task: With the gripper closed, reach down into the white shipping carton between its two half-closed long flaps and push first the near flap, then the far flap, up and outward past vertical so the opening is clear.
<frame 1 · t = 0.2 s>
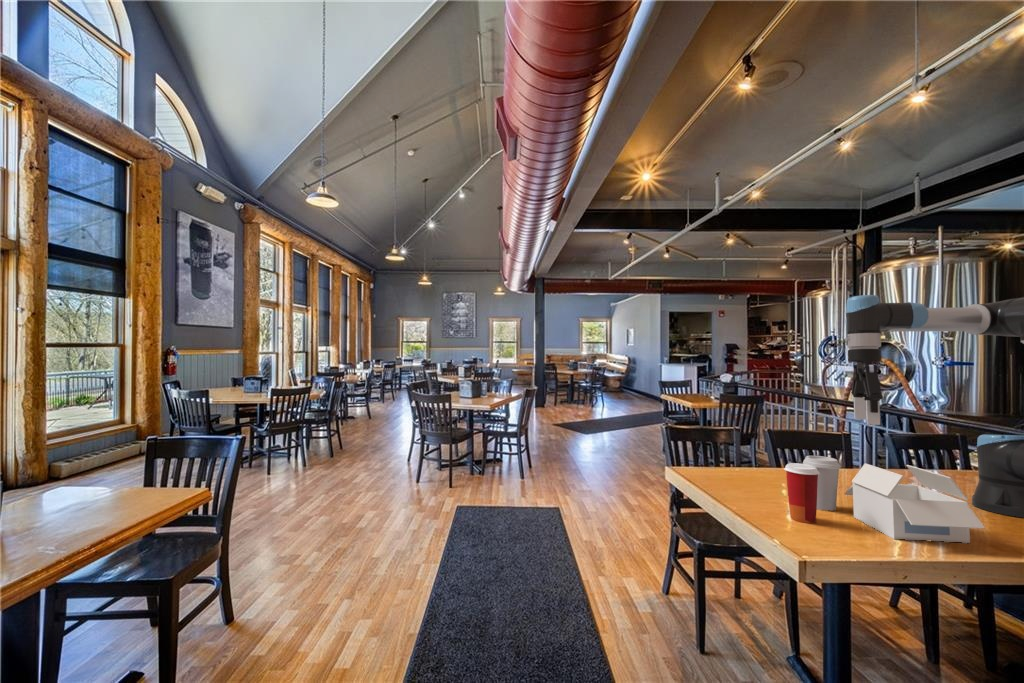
hand: (866, 421, 122), 28 cm above the table, tool pointing down, fingers open, 13 cm apart
carton: (891, 511, 128), on the table
white carton: (907, 529, 113), on the table
coffee cup: (802, 520, 120), on the table
near flap: (935, 481, 112), point 13 cm above the table, hinge at 55.0°
coffee cup 2: (822, 508, 130), on the table
far flap: (876, 479, 114), point 13 cm above the table, hinge at 55.0°
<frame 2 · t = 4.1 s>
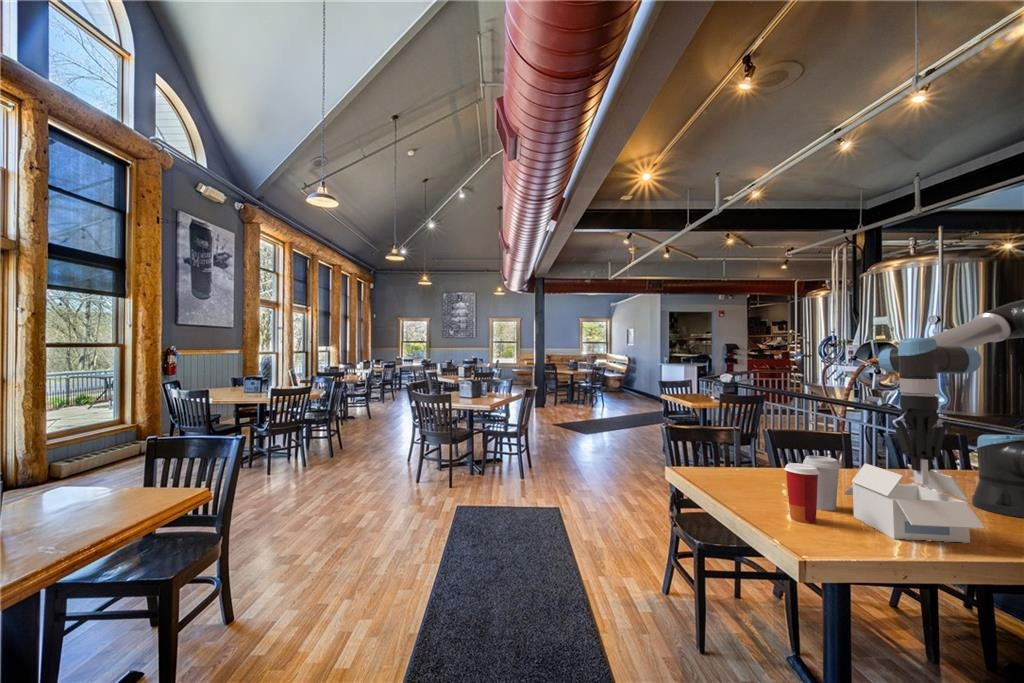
hand: (921, 483, 113), 12 cm above the table, tool pointing down, fingers closed
near flap: (935, 481, 112), point 13 cm above the table, hinge at 57.9°, touching gripper
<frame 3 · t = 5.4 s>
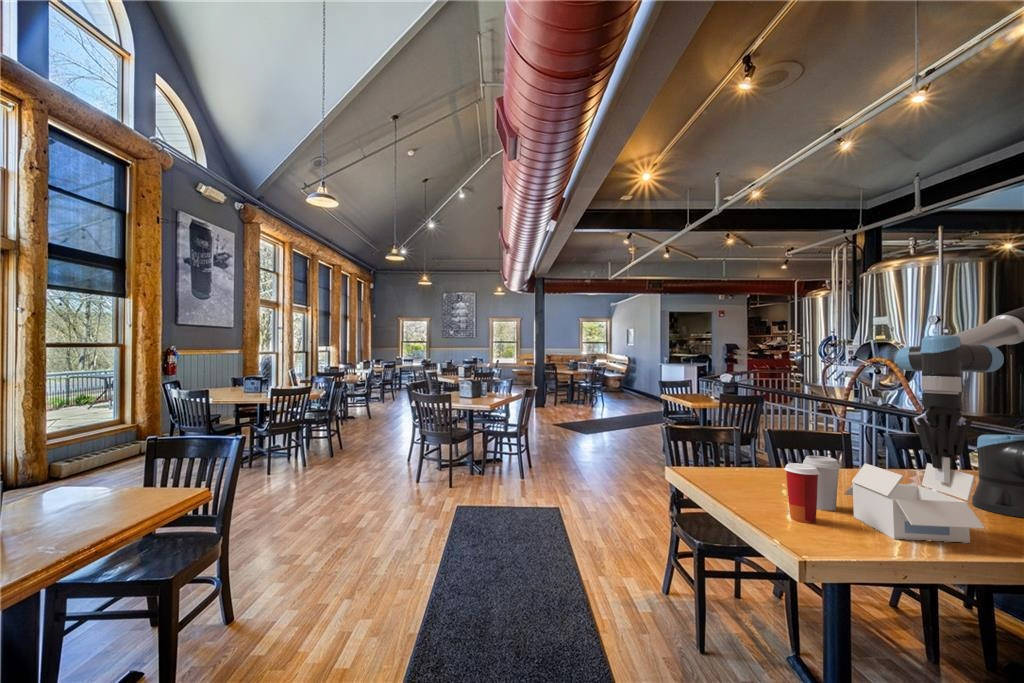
hand: (942, 481, 112), 13 cm above the table, tool pointing down, fingers closed
near flap: (946, 480, 112), point 13 cm above the table, hinge at 105.4°, touching gripper
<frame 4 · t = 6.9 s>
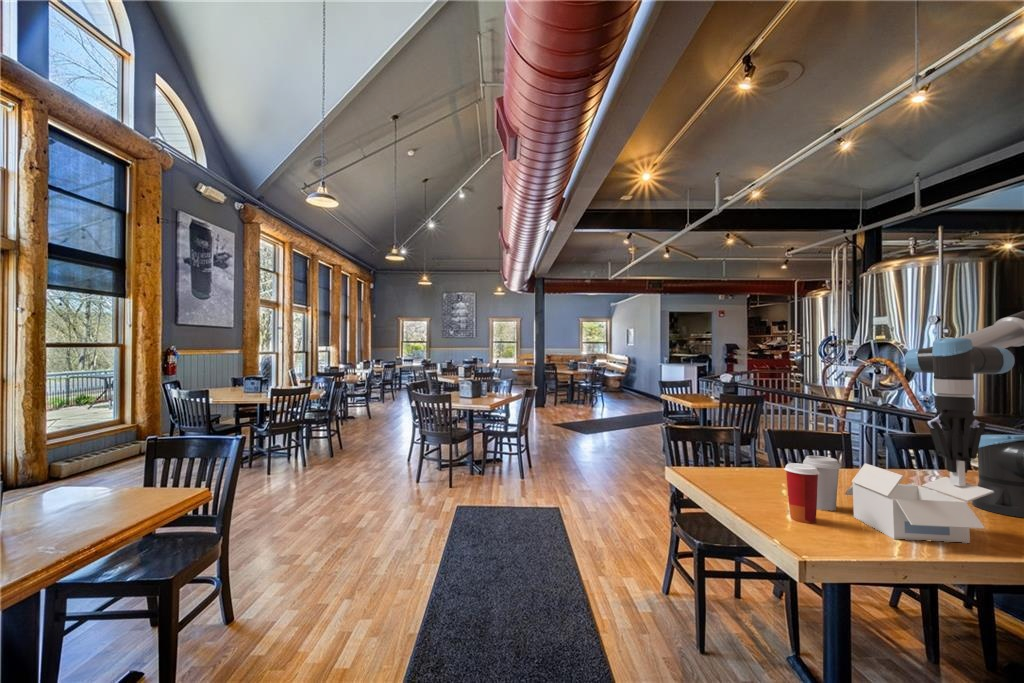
hand: (957, 484, 112), 12 cm above the table, tool pointing down, fingers closed
near flap: (955, 488, 112), point 11 cm above the table, hinge at 155.9°, touching gripper
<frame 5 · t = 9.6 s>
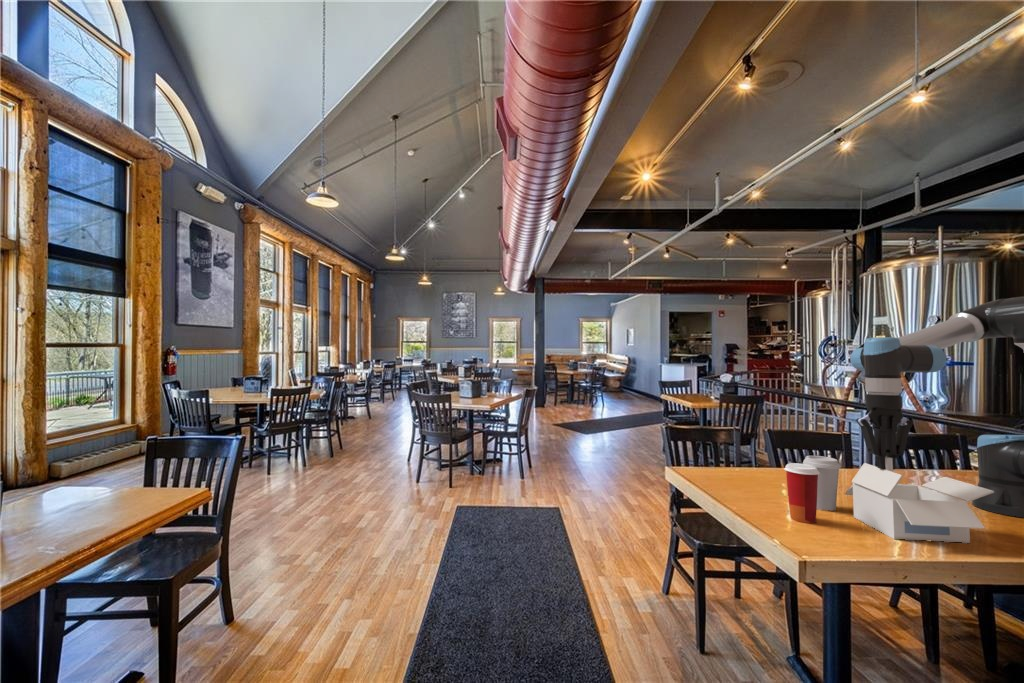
hand: (886, 481, 114), 13 cm above the table, tool pointing down, fingers closed
near flap: (955, 488, 112), point 11 cm above the table, hinge at 155.9°
far flap: (875, 478, 114), point 13 cm above the table, hinge at 56.9°, touching gripper
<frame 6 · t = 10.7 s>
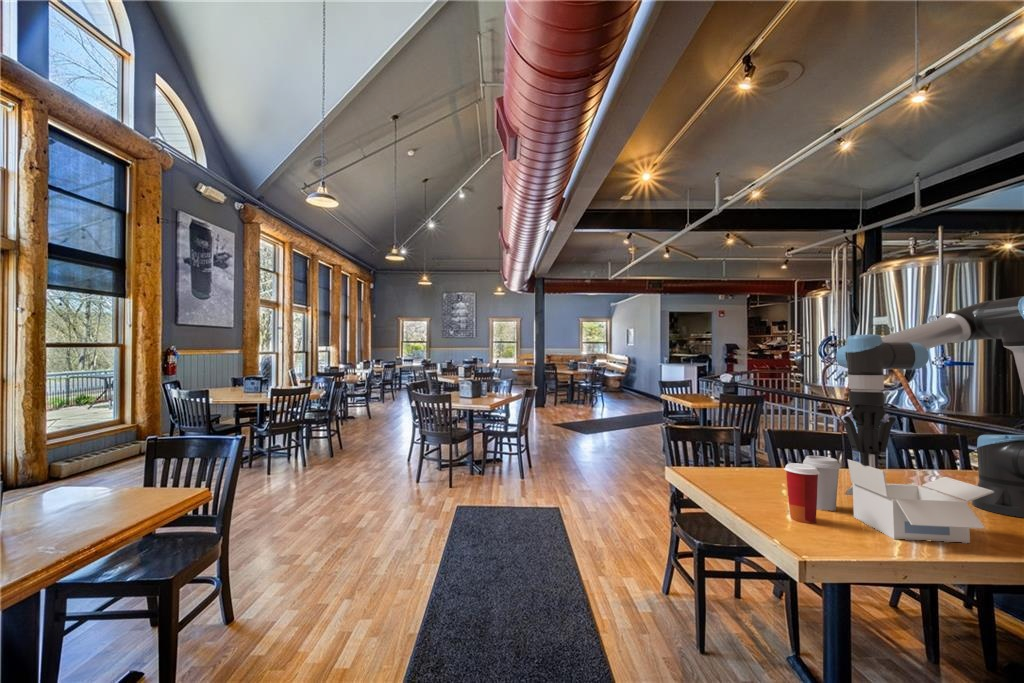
hand: (869, 477, 114), 13 cm above the table, tool pointing down, fingers closed
far flap: (866, 477, 114), point 14 cm above the table, hinge at 97.0°, touching gripper
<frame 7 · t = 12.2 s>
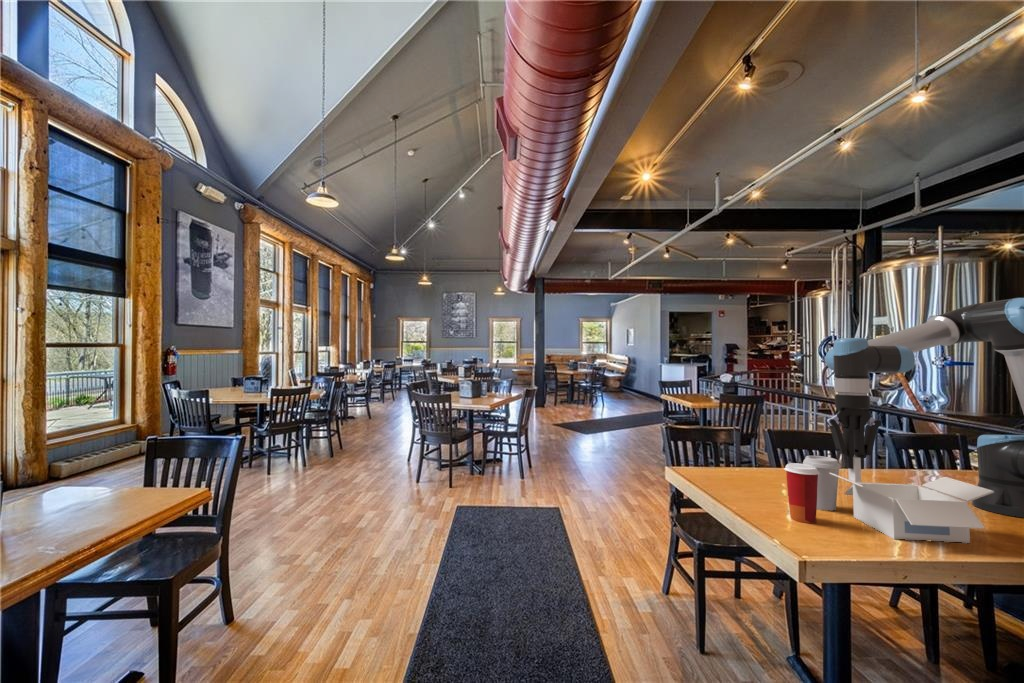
hand: (854, 480, 115), 12 cm above the table, tool pointing down, fingers closed
far flap: (857, 484, 115), point 11 cm above the table, hinge at 156.6°, touching gripper
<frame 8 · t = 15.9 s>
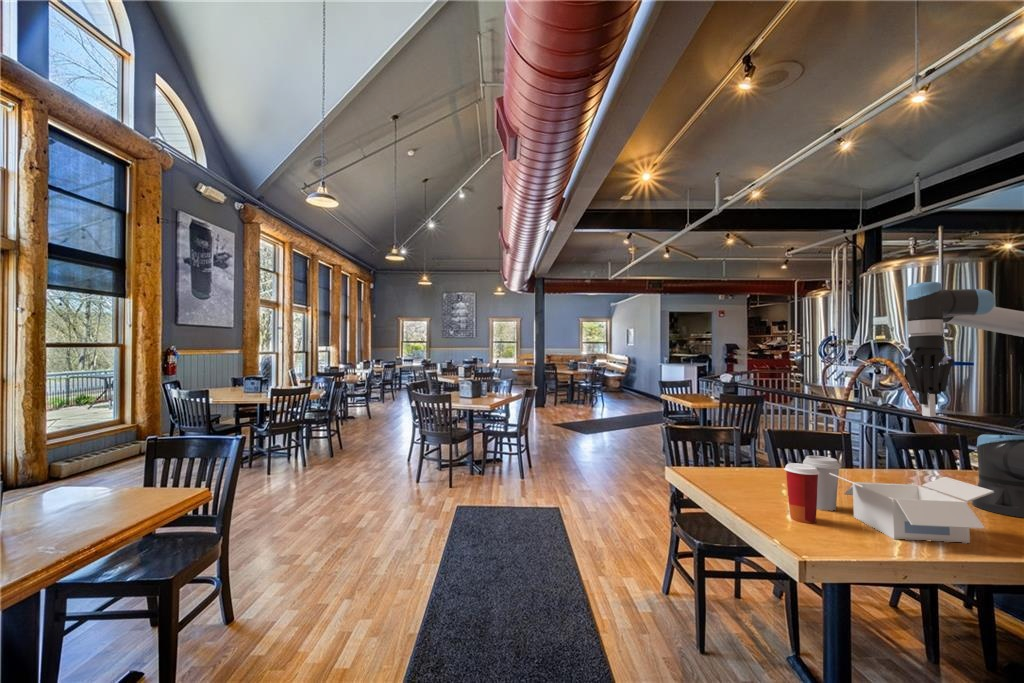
hand: (928, 416, 122), 29 cm above the table, tool pointing down, fingers closed
far flap: (857, 484, 115), point 11 cm above the table, hinge at 157.5°
at the end: near flap at +156° (first picture: +55°); far flap at +158° (first picture: +55°) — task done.
